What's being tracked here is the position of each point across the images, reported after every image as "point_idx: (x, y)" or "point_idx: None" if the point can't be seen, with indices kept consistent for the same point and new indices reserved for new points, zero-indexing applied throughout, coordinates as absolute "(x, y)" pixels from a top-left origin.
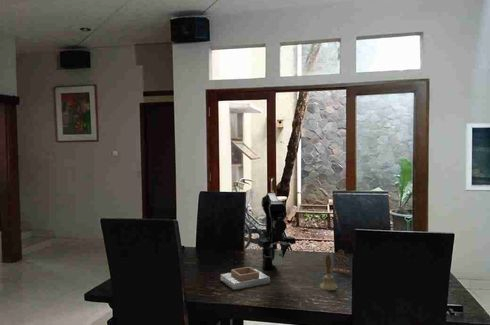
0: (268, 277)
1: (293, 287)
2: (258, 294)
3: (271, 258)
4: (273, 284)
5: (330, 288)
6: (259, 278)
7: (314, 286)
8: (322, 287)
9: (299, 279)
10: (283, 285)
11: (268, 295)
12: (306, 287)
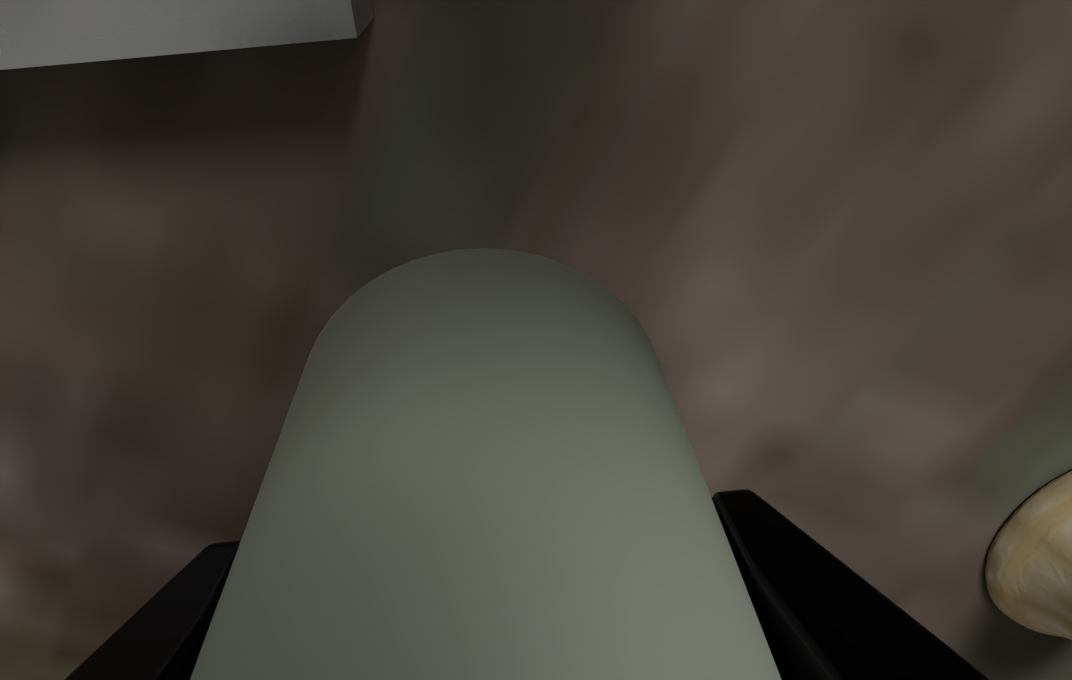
0: (316, 40)
1: (674, 390)
2: (8, 455)
3: (177, 594)
4: (416, 126)
5: (1047, 634)
6: (53, 23)
7: (976, 459)
8: (1004, 569)
9: (1052, 67)
10: (572, 250)
11: (163, 529)
12: (848, 454)
